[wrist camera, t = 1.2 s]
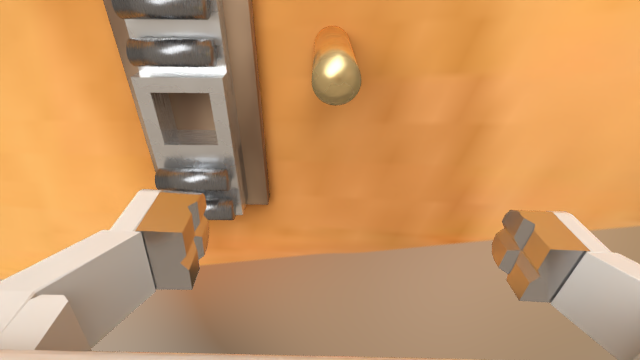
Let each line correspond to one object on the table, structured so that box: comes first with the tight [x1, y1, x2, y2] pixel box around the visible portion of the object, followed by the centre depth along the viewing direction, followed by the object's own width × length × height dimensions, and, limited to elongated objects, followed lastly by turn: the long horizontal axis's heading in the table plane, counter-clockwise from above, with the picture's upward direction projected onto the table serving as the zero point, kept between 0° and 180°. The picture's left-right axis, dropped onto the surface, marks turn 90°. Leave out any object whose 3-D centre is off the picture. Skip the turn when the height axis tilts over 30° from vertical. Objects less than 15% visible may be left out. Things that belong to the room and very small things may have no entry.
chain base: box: [103, 0, 270, 205], centre depth 31 cm, size 11×22×2 cm, turn 0°
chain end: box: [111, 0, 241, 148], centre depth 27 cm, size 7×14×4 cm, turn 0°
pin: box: [312, 26, 361, 105], centre depth 25 cm, size 3×3×10 cm
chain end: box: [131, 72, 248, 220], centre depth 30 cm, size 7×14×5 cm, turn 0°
